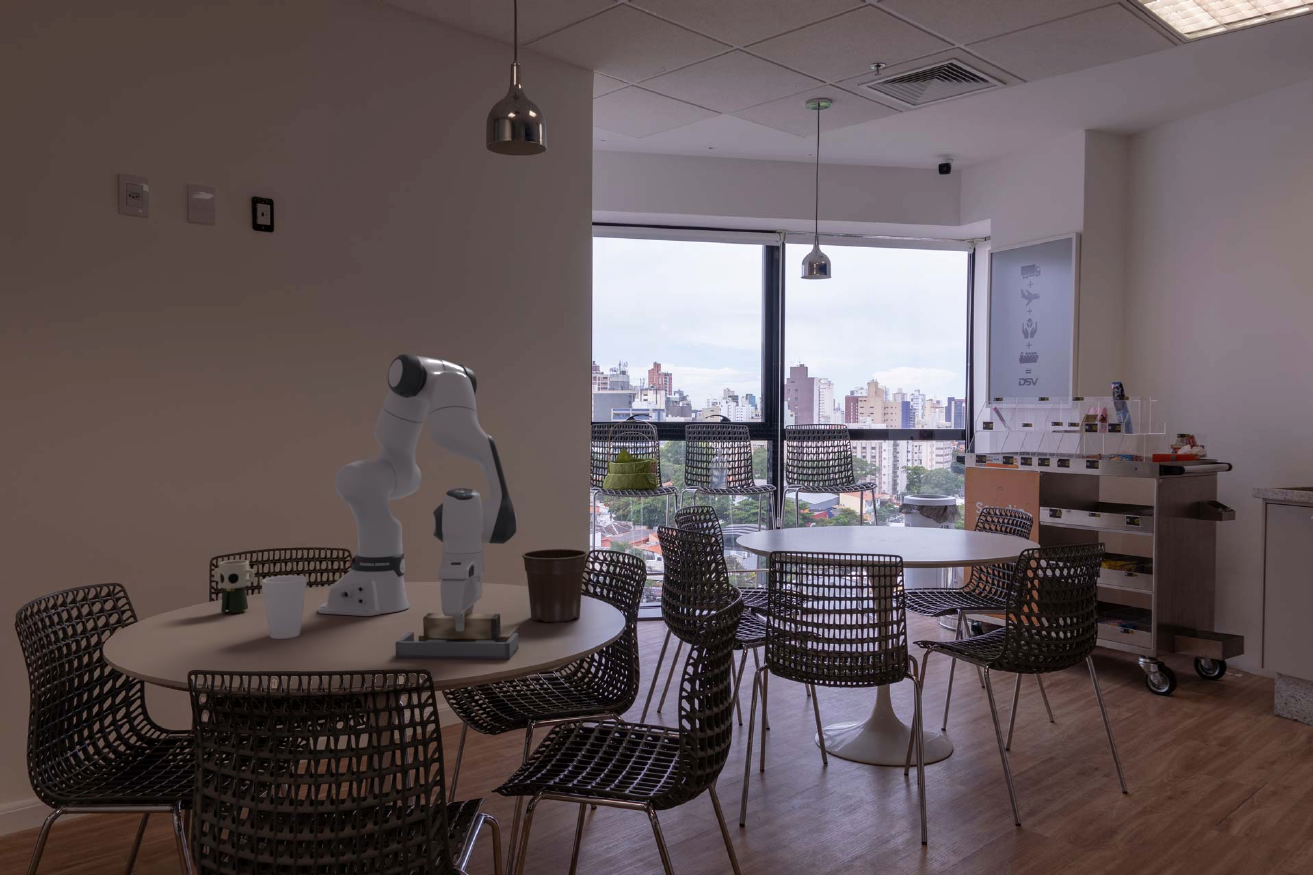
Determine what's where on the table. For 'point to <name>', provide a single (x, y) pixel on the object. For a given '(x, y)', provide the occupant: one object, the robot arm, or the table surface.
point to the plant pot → (555, 583)
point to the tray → (455, 649)
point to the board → (504, 636)
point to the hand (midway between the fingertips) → (463, 627)
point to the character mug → (234, 584)
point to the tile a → (436, 640)
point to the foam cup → (284, 605)
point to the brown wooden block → (475, 626)
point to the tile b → (485, 641)
